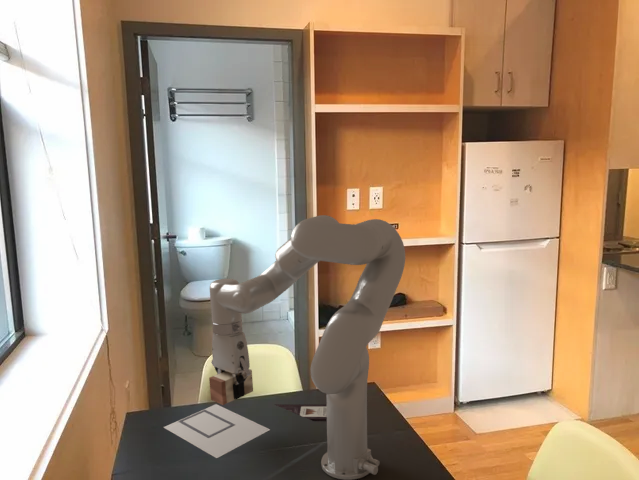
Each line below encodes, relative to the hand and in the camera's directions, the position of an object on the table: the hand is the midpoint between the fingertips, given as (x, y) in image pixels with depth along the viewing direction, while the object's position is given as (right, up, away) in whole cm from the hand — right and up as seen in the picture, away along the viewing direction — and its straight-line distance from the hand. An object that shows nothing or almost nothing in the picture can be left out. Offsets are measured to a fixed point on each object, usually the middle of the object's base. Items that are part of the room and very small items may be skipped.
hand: (232, 393), depth 136 cm
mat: (-5, -12, +7) cm, 15 cm away
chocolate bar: (+17, -11, +16) cm, 26 cm away
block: (0, 0, 0) cm, 1 cm away
